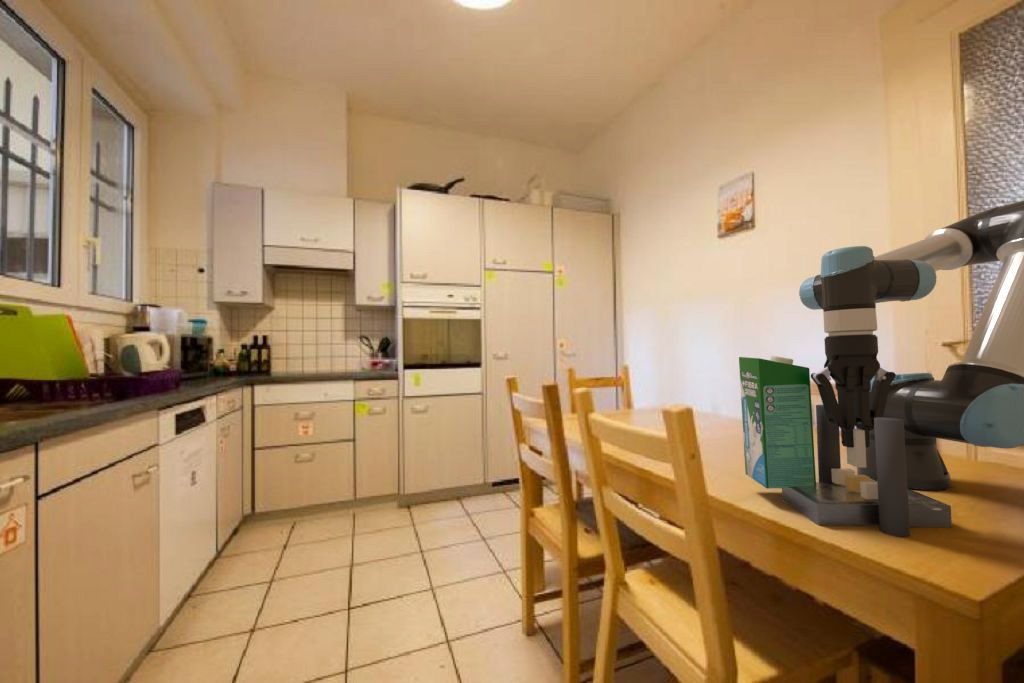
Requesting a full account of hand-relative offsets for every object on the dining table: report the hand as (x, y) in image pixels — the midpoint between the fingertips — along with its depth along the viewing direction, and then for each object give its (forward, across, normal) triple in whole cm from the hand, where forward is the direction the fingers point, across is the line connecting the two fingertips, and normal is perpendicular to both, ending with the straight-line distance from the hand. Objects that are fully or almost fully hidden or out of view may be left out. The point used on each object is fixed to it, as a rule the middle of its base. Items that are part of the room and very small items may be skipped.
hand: (856, 465), depth 76 cm
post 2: (+8, 0, +8) cm, 12 cm away
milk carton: (+5, +10, -8) cm, 13 cm away
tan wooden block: (+5, 0, 0) cm, 5 cm away
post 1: (+8, 0, -8) cm, 12 cm away
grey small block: (+5, 0, -4) cm, 6 cm away
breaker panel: (+8, 0, 0) cm, 8 cm away
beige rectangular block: (+5, 0, +4) cm, 6 cm away
